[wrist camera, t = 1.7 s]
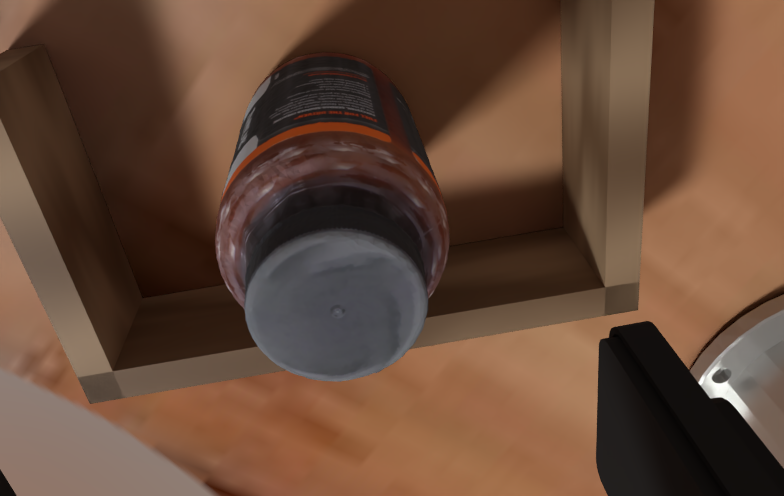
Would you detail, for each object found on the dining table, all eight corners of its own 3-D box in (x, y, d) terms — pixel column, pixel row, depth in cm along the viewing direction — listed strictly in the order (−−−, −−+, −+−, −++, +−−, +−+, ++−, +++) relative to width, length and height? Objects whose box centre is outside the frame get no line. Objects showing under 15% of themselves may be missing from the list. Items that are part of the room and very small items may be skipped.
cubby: (592, 248, 28) (637, 309, 24) (122, 327, 27) (89, 403, 23) (595, -46, 22) (656, -28, 18) (6, 50, 22) (-62, 89, 18)
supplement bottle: (210, 100, 23) (130, 267, 13) (362, 14, 22) (396, 126, 12) (300, 232, 26) (289, 452, 16) (438, 161, 25) (515, 348, 15)
